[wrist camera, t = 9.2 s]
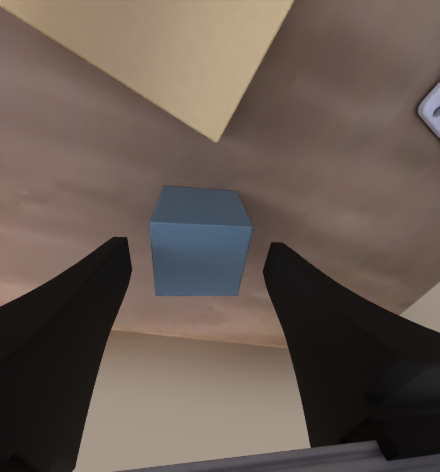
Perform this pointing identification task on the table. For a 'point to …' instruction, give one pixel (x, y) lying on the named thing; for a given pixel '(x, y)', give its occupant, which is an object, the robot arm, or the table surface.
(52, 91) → the table surface
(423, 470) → the robot arm
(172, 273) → the blue cube
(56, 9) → the birch plinth
